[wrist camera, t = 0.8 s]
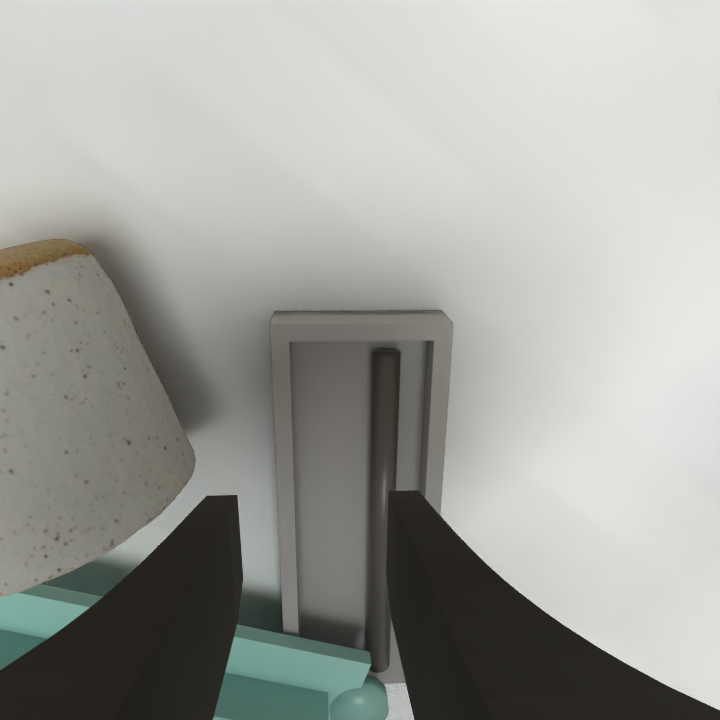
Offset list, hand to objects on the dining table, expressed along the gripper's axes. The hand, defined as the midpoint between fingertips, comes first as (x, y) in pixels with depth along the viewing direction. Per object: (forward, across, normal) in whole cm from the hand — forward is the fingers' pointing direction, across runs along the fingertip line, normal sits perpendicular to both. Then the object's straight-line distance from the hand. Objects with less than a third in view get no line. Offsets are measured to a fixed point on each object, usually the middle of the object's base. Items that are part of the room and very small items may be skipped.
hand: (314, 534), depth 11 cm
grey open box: (+9, -2, +6) cm, 11 cm away
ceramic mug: (+10, +10, 0) cm, 14 cm away
